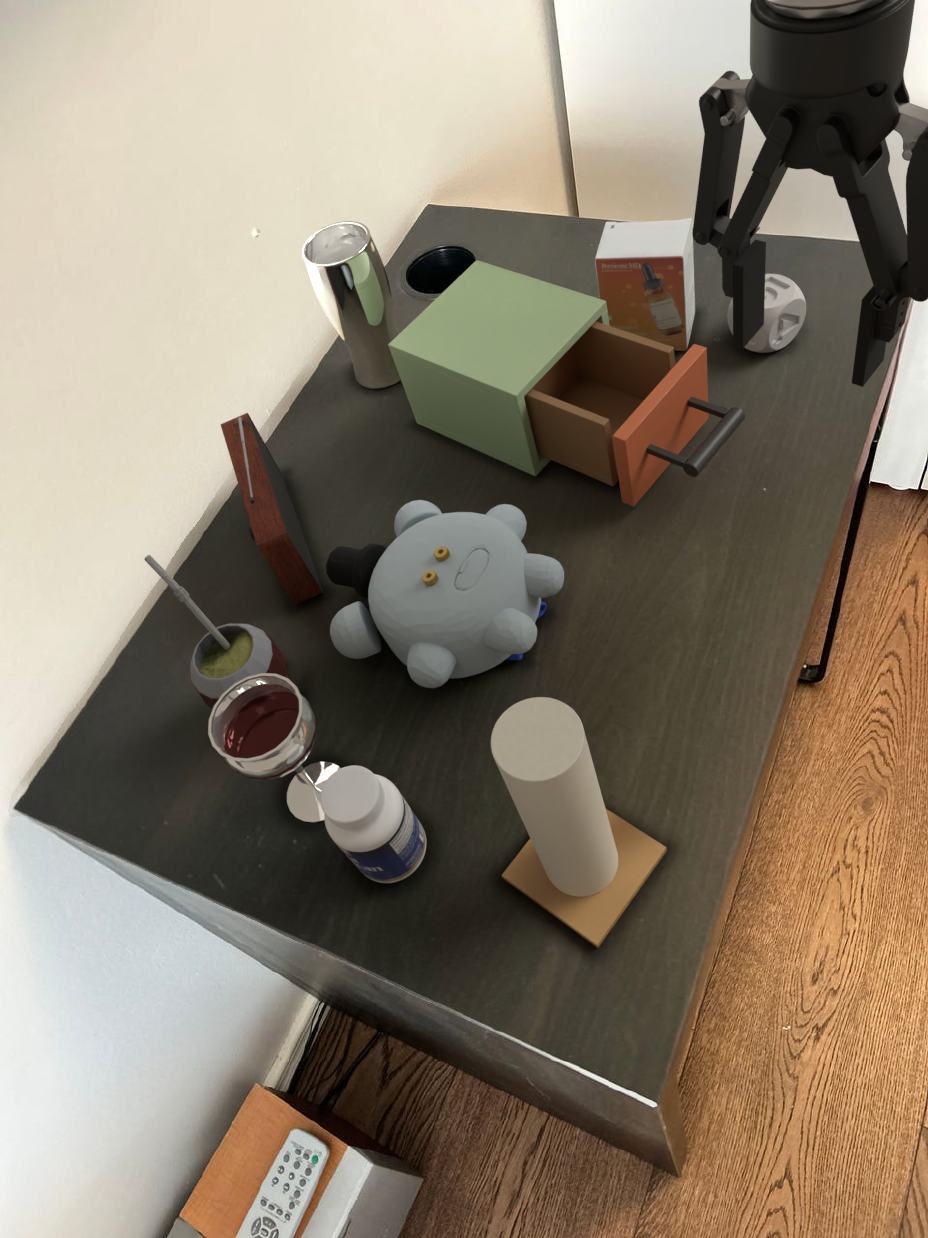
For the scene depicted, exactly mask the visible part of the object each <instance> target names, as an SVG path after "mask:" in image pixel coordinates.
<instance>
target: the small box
mask: <svg viewBox="0 0 928 1238" xmlns="http://www.w3.org/2000/svg"><path fill="white" fill-rule="evenodd" d="M693 224H694V222H693V219H692V218H691V217H689V218H680V219H666V220H665V219H664V220H645V221H644V220H643V221H640V220H639V221H638V220H637V221H606V222H605V223H604V227H603V231H602V234H601V237H600V241H599V244H598V246H597V252H596V254H595V258H594V265H595V275H596V284H597V291H598V299H601V300H604V301H606V304H607V311H608V318H609V326H611V327H614V328H617V329H620V330H623V331H626V332H629V333H632V334H635V335H638V336H641V337H644V338H647V339H650V340H653V341H656V342H659V343H662V344H665V345H668V346H671V347H673V348H674V351H679V352H684V351H688V347H689V343H690V339H691V335H692V331H693V330H692V329H693V325H694V320H695V315H696V299H695V297H696V296H695V264H694V263H695V262H694V238H693V234H692V232H693Z"/></svg>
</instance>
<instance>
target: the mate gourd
mask: <svg viewBox="0 0 928 1238" xmlns="http://www.w3.org/2000/svg"><path fill="white" fill-rule="evenodd" d="M143 559H144V561H145V562H146V564H148V566H149V567H150V568H152V570H153V571H154V572H155V573H156V574H157V575H158V576H159V577H160V578H161V579H162V580H163V581H164V582H165V583H166V585H167V586H168V587H169V588H170V589H171V590H172V591H173V595H174V596H175V597H176V598H177V599H178V600H179V602H180V603H183V604H184V605H185V606H186V607H187V608H188V609H189V611H191V612H192V614H193V615H194V616H195V617H196V619H198V621H199V622H200V623H201V624H202V625H203V627H205V629H206V630H207V631H208V632H207V633H206V634H205V635H203V637H202V638H201V640H200V641H199V642H198V643H197V644H196V645H195V647H194V651H193V653H192V656H191V658H190V665H189V668H190V680H191V682H192V684H193V686H194V688H195V690H196V692H197V694H198V695H199V697H201V699H202V701H203V702H204V704H205V705H206V706H207V707H209V708H210V709H211V710H213V707H214V705H215V704H216V702H217V701H218V700H219V698H220V697H221V695H222V694H223V693H224V692H225V691H226V690H228V689H229V688H230V687H231V686H232V685H233V684H235V683H236V682H238V681H240V680H242V679H244V678H246V677H248V676H252V675H256V674H260V673H272V674H278V675H281V676H283V677H286V678H288V679H289V675H288V670H287V664H286V660H285V655H284V654H283V652H282V650H281V649H280V647H279V646H278V644H277V643H276V642H275V640H274V639H273V638H272V637H271V636H270V635H269V634H267V633H266V632H264V630H263V629H261V628H258V627H256V626H254V625H251V624H250V623H226V624H223V625H220V626H215V625H214V624H213V623H212V622H211V621H210V619H209V618H208V617H207V616H206V615H205V614H204V613H203V611H202V610H201V609H200V608H199V606H197V604H196V603H195V602H194V600H193V599H192V598H191V597H190V593H189V592H188V591H187V590H186V589H185V588H184V587H183V586H182V585H179V583H178V582H177V581H176V580H175V579H174V578H173V577H172V576H171V575H170V574H169V573H168V572H167V570H165V569H164V568H163V566H161V564H160V563H158V561H156V559H154V557H153V556H151V554H147V555H146V556H145V557H144V558H143Z"/></svg>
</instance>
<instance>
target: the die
mask: <svg viewBox="0 0 928 1238" xmlns="http://www.w3.org/2000/svg"><path fill="white" fill-rule="evenodd" d="M806 315H807V303H806V298H805V296H804V293H803V292H802V290H801V288H800V287H799V286H798V285H797V283H796V282H795V281H793V280H792V279H791V278H789V277H788V276H785V275H783V274H778V273H765V301H764V325H763V326H762V327H761V328H760V329H759V331H758V332H757V333H756V334H755V335H754V336H753V338H752V339H751V340H750V341H749V342H748V343H747V345H746V346H745V347H744V348H745V349H746V350H748V351H751V352H754V353H763V354H765V353H767V354H768V353H773V352H776V351H780V350H781V349H783V348H785V347H786V346H788V345H789V344H790V343H791V342H792V341H793V340H794V339H795V338H796V336H797V335H798V334H799V332H800V330H801V329H802V326H803V324H804V322H805V319H806ZM726 317H727V318H726V320H727V325H728V328H729V331H730V333H731V334H732V336H733V298H732V297H731V300H730V302H729V305H728V308H727V315H726Z"/></svg>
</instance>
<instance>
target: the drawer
mask: <svg viewBox="0 0 928 1238" xmlns="http://www.w3.org/2000/svg"><path fill="white" fill-rule="evenodd" d="M707 349H708V348H707V347H705V346H703V345H699V344H696V343H693V344H692V345H691V346H690V348H689V349H687V350H686V352H685V354H684V355H682V357H681V358H680V359H679V360H678V361H677V362H675V361H676V360H675V350H674V348H673V347H671V346H668V345H665V344H662V343H659V342H656V341H653V340H650V339H647V338H644V337H641V336H638V335H635V334H632V333H629V332H626V331H623V330H620V329H617V328H614V327H611V326H608V325H605V324H602V323H599V322H596V321H595V322H594V323H593V325H592V326H591V327H590V328H589V329H588V330H587V331H586V332H585V333H584V334H583V335H582V336H581V337H580V338H579V339H578V340H577V341H576V342H575V343H574V345H573V346H572V347H571V348H570V349H569V350H568V351H567V352H566V353H565V354H564V355H563V356H562V357H561V358H560V359H559V360H558V361H557V362H556V364H555V365H554V366H553V367H552V368H551V369H550V370H549V371H548V372H547V373H546V374H545V375H544V376H543V377H542V378H541V379H540V380H539V381H538V382H537V384H536V385H535V386H534V387H533V388H532V389H531V390H530V391H529V392H528V393H527V394H526V395H525V396H524V399H525V404H526V408H527V412H528V416H529V420H530V425H531V429H532V433H533V437H534V441H535V446H536V450H537V454H539V455H541V456H544V457H546V458H548V459H551V460H550V461H553V462H555V463H558V464H560V465H562V466H565V467H567V468H569V469H571V470H574V471H576V472H578V473H581V474H583V475H586V476H588V477H590V478H593V479H594V480H596V481H599V482H601V483H604V484H606V485H609V486H610V487H614V486H615V485H616V484H617V483H619V489H620V490H619V491H620V496H621V502H622V503H624V504H626V505H628V506H631V507H636V505H637V504H638V502H639V501H640V500H641V499H642V498H643V497H644V496H645V494H646V493H647V492H648V491H649V490H650V488H651V487H652V486H653V485H654V484H655V482H657V480H658V479H659V478H660V477H661V476H662V474H663V473H664V472H665V470H666V469H667V468H668V467H669V466H670V465H671V464H672V465H676V466H679V467H680V468H682V469H683V472H684V473H685V474H686V475H688V476H689V477H692V478H696V477H698V476H699V475H700V474H701V472H702V471H703V470H704V469H705V468H706V467H707V465H708V464H709V463H710V461H711V460H712V459H713V458H714V456H716V454H717V453H718V452H719V450H721V448H722V447H723V446H724V445H725V443H726V442H727V441H728V440H729V438H730V437H732V435H733V433H734V432H735V431H736V430H737V429H738V428H739V426H740V425H741V424H742V423H743V421H745V418H746V414H745V412H744V410H743V409H741V408H740V407H738V406H732V407H731V408H729V409H728V408H725V407H722V406H720V405H717V404H714V403H712V402H709V383H708V382H709V381H708V354H707V352H708V350H707ZM710 415H712V416H714V417H716V418H717V417H718V418H721V419H720V420H719V421H718V423H717V424H716V425H715V426H714V428H713V429H712V430H711V431H710V432H709V434H708V435H706V437H705V438H704V439H703V441H702V442H701V443H700V444H699V445H698V447H697V448H696V449H695V450H694V452H692V454H691V455H690V456H689V457H685V456H682V455H680V453H681V452H682V450H683V449H684V448H685V447H686V446H687V444H688V443H689V442H690V441H691V440H692V439H693V437H694V436H695V435H696V434H698V432H699V430H700V429H701V428H702V427H703V426H704V425H705V423H706V422H707V421H708V420H709V418H710Z"/></svg>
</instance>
